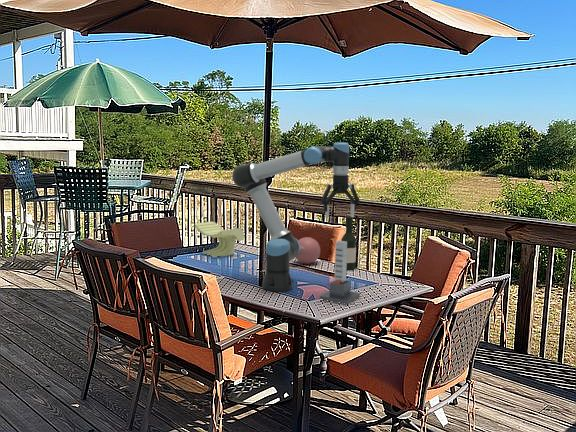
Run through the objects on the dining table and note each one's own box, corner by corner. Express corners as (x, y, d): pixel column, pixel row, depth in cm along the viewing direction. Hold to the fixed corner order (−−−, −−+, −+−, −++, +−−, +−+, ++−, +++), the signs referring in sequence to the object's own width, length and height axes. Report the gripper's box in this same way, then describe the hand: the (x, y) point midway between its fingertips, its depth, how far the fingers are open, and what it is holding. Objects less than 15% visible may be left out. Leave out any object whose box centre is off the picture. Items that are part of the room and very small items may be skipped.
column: (338, 282, 274) (339, 240, 271) (346, 283, 272) (347, 241, 269) (334, 284, 271) (335, 242, 267) (342, 285, 269) (343, 243, 265)
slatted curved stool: (243, 256, 356) (243, 227, 353) (221, 260, 346) (221, 230, 343) (216, 248, 379) (216, 221, 376) (195, 251, 369) (194, 223, 366)
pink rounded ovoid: (282, 264, 338) (282, 238, 335) (307, 259, 351) (307, 233, 348) (300, 269, 326) (300, 242, 324) (325, 263, 340) (326, 237, 337)
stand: (333, 292, 282) (333, 274, 281) (359, 297, 275) (360, 278, 274) (319, 299, 270) (319, 281, 269) (347, 305, 263) (347, 285, 262)
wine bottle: (354, 270, 324) (356, 217, 320) (339, 269, 326) (341, 216, 321) (356, 267, 333) (357, 215, 328) (341, 266, 334) (342, 214, 329)
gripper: (320, 175, 277) (319, 219, 281) (367, 174, 286) (365, 217, 289) (314, 174, 284) (313, 217, 288) (360, 173, 293) (359, 215, 296)
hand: (339, 217), depth 288 cm, fingers open, 13 cm apart
